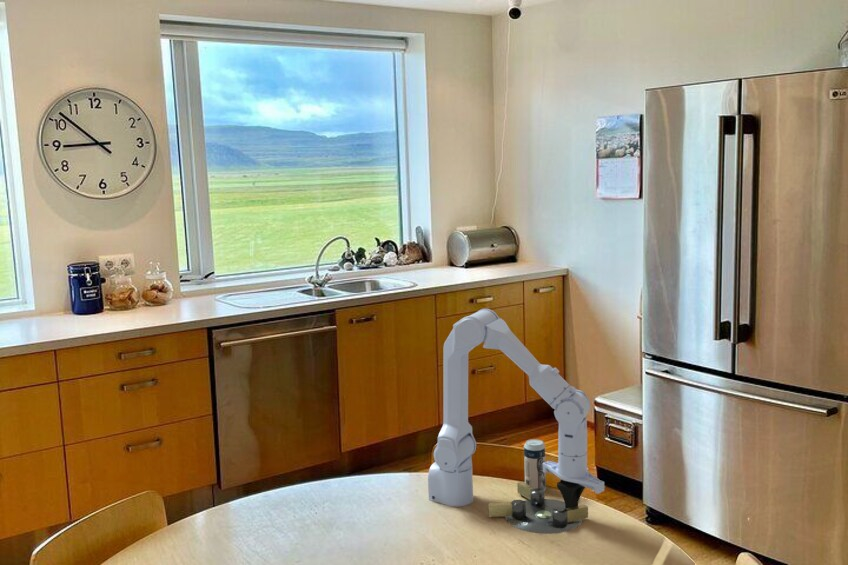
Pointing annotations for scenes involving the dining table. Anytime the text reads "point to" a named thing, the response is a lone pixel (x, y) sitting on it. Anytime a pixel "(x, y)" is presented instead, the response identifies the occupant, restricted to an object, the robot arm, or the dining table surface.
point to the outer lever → (568, 515)
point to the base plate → (541, 518)
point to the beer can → (534, 464)
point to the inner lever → (508, 509)
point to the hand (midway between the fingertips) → (572, 514)
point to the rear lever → (531, 494)
